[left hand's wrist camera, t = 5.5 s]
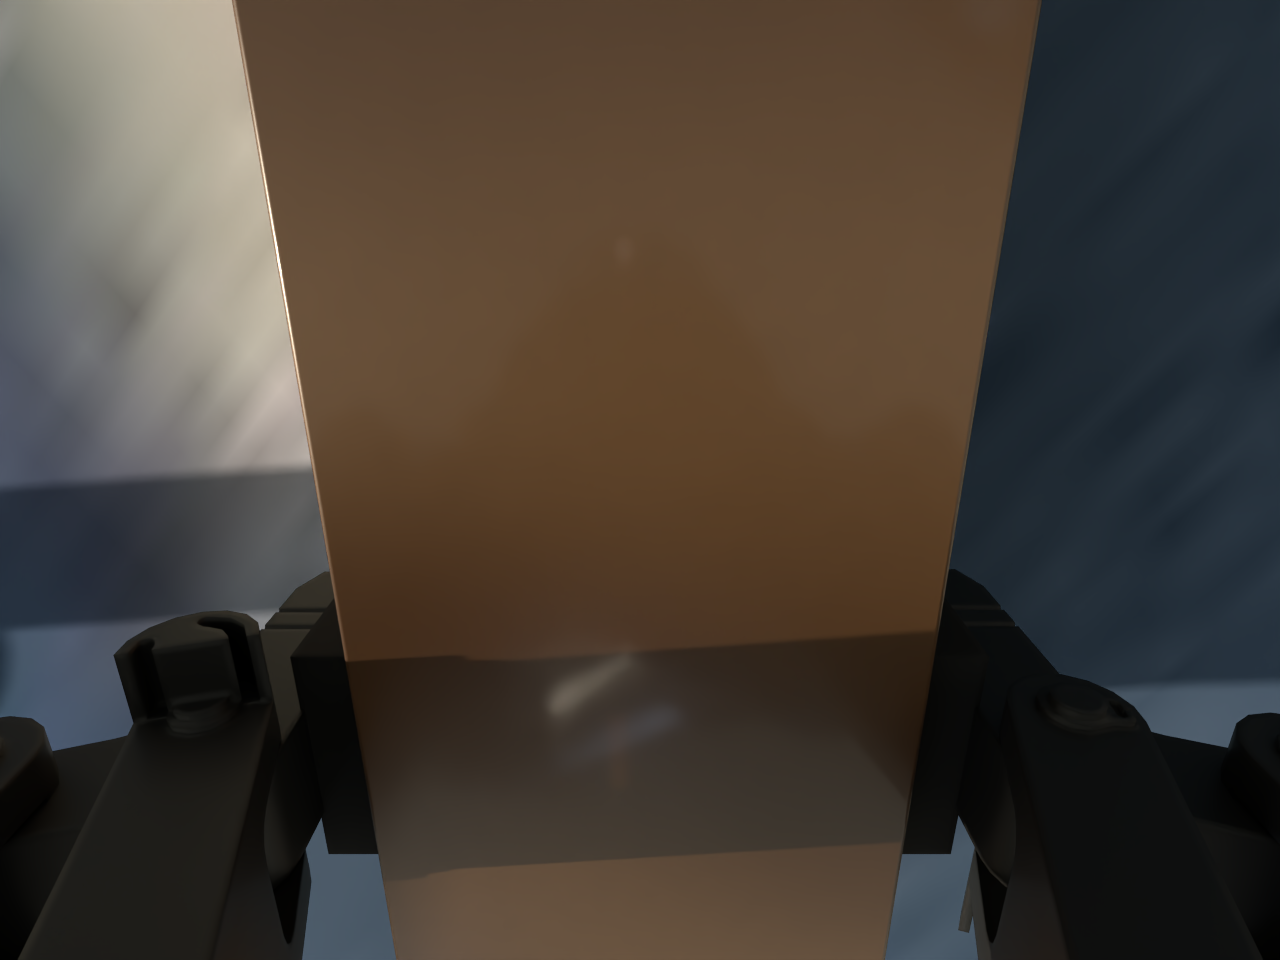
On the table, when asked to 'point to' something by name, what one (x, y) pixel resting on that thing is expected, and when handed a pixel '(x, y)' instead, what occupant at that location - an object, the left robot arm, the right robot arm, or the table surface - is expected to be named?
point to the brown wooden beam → (638, 440)
